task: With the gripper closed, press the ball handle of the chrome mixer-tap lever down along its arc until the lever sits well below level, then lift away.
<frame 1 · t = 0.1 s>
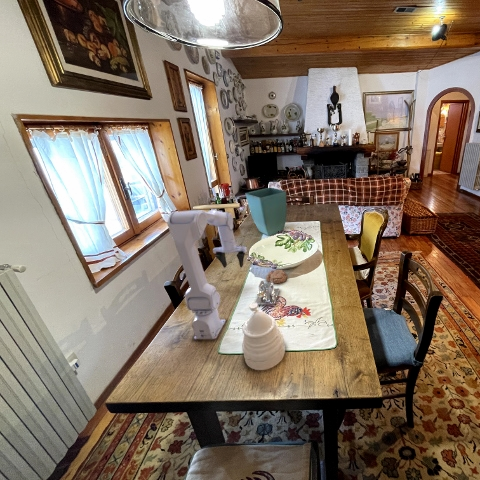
hand: (233, 266, 115), 10 cm above the table, tool pointing down, fingers open, 7 cm apart
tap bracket: (268, 297, 109), on the table
flower pot: (271, 231, 179), on the table
tap lever: (263, 290, 103), point 7 cm above the table, hinge at 15.0°
honey pot: (265, 353, 82), on the table
cookie: (277, 278, 122), on the table
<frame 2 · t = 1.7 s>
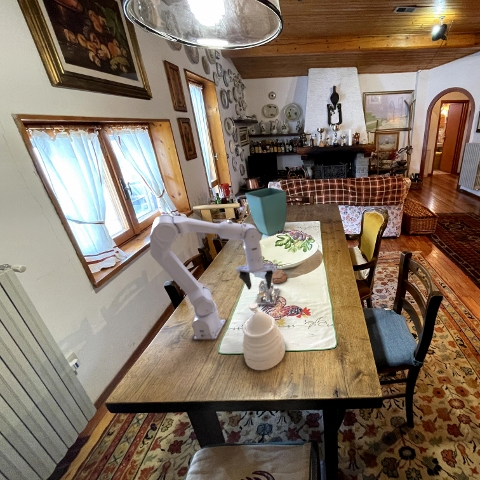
hand: (259, 287, 98), 10 cm above the table, tool pointing down, fingers open, 7 cm apart
nothing on the table moved.
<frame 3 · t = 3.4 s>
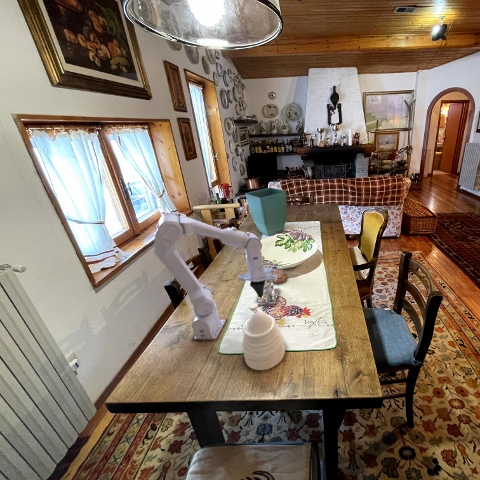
hand: (261, 295, 99), 7 cm above the table, tool pointing down, fingers closed, pressing on tap lever
tap lever: (263, 292, 103), point 6 cm above the table, hinge at 1.2°, touching gripper
everything else where it was.
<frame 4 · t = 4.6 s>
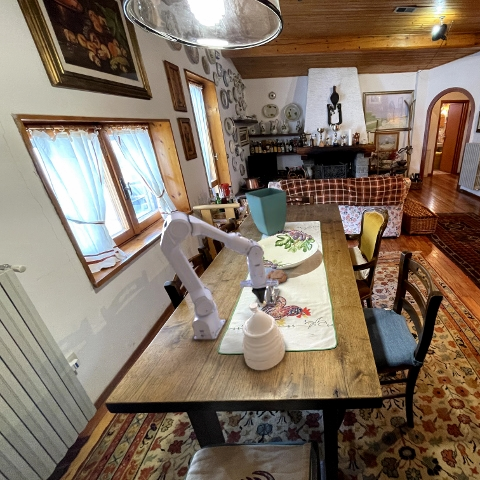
hand: (262, 301, 100), 4 cm above the table, tool pointing down, fingers closed, pressing on tap lever
tap lever: (264, 295, 104), point 4 cm above the table, hinge at -21.7°, touching gripper
everything else where it was.
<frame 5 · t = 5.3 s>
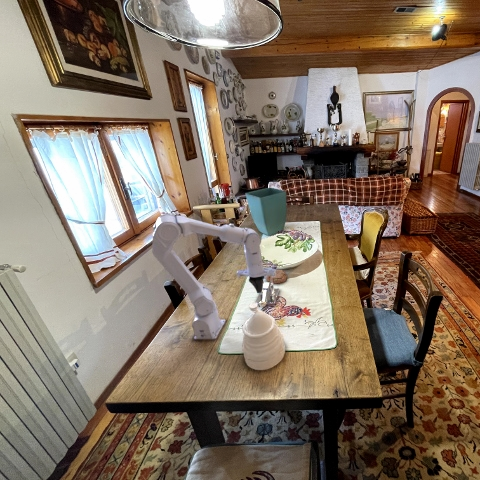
hand: (259, 291, 99), 8 cm above the table, tool pointing down, fingers closed
tap lever: (264, 295, 104), point 4 cm above the table, hinge at -21.7°
everything else where it was.
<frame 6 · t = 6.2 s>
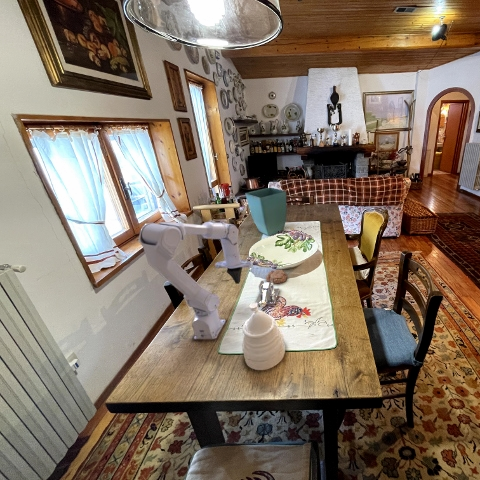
hand: (238, 282, 104), 9 cm above the table, tool pointing down, fingers closed
nothing on the table moved.
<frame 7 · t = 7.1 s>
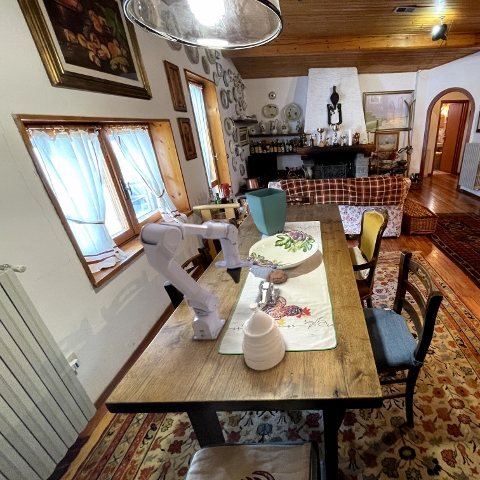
hand: (237, 282, 104), 9 cm above the table, tool pointing down, fingers closed
nothing on the table moved.
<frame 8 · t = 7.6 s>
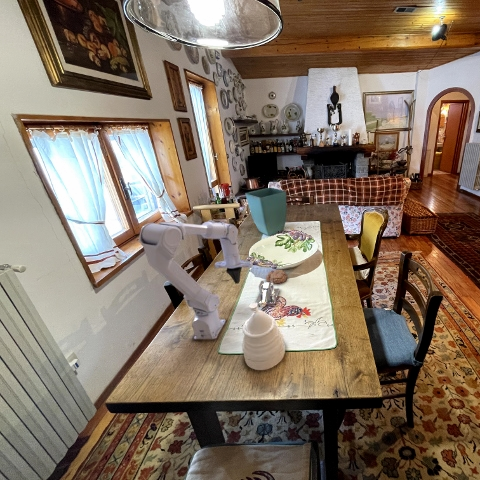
hand: (237, 282, 104), 9 cm above the table, tool pointing down, fingers closed
nothing on the table moved.
at the end: tap lever at -22° (first picture: +15°) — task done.
